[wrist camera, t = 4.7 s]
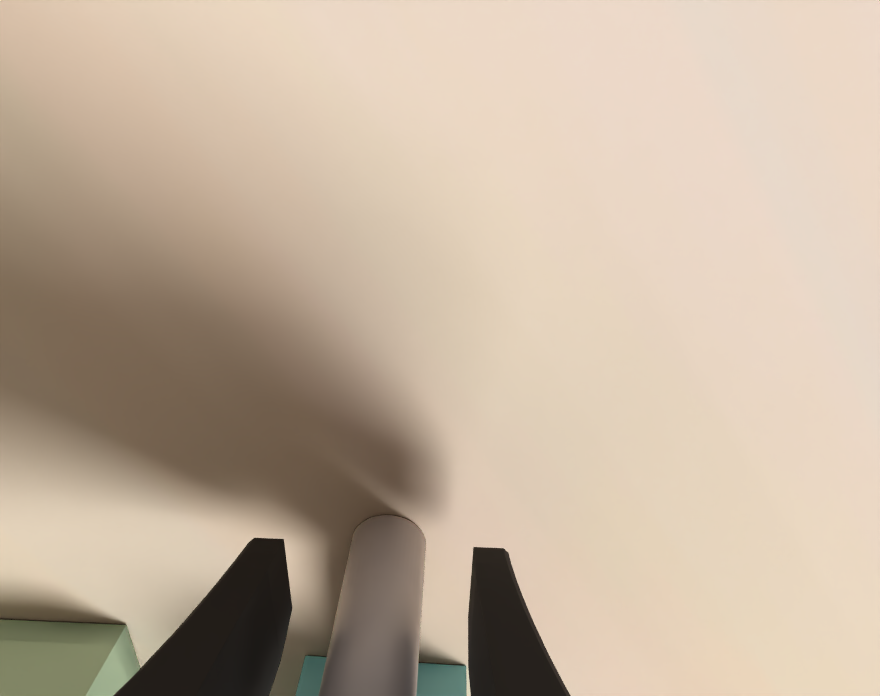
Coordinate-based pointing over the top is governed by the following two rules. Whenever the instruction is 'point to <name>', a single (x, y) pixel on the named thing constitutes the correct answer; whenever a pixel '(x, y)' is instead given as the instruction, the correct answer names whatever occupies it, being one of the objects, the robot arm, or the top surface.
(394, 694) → the cyan and grey piece
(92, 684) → the tray
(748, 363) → the top surface
